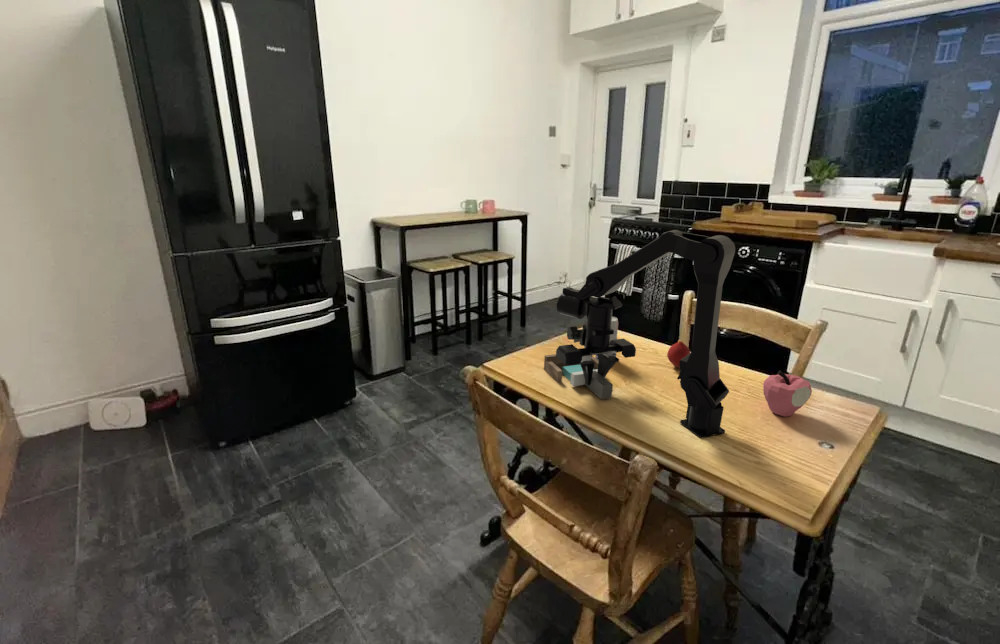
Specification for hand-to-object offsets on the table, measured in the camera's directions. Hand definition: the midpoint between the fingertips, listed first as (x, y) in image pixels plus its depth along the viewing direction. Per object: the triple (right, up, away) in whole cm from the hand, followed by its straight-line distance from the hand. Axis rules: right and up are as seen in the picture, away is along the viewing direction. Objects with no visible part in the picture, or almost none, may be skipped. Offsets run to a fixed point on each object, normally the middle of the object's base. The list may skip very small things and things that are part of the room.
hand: (593, 383), depth 116 cm
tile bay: (-3, +1, +9) cm, 10 cm away
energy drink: (+7, +4, +19) cm, 21 cm away
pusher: (0, -1, -1) cm, 2 cm away
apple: (+41, -6, -9) cm, 42 cm away
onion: (+26, +2, +14) cm, 29 cm away
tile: (-2, 0, +7) cm, 7 cm away
